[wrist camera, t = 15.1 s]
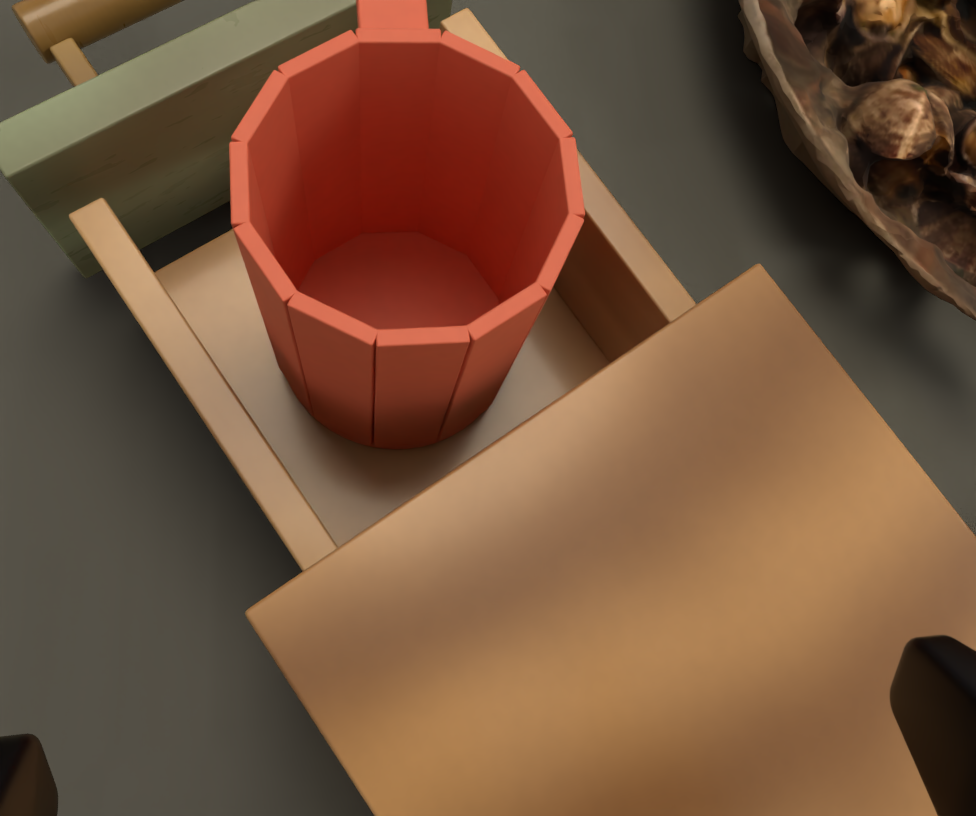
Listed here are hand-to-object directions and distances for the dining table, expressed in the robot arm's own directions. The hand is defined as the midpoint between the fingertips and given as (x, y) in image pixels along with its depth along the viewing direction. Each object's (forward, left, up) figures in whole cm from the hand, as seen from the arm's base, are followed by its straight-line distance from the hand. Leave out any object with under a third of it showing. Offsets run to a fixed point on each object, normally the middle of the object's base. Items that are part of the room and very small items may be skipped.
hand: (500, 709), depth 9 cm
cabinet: (+4, -4, -14) cm, 15 cm away
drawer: (+4, +10, -13) cm, 16 cm away
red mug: (+5, +8, -12) cm, 15 cm away
